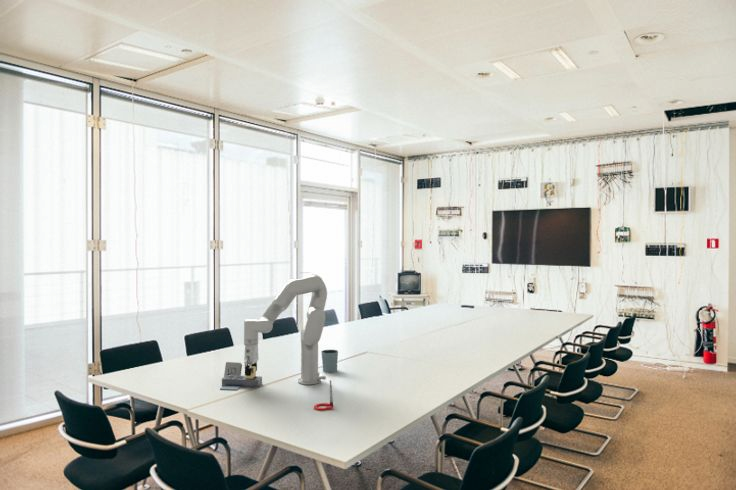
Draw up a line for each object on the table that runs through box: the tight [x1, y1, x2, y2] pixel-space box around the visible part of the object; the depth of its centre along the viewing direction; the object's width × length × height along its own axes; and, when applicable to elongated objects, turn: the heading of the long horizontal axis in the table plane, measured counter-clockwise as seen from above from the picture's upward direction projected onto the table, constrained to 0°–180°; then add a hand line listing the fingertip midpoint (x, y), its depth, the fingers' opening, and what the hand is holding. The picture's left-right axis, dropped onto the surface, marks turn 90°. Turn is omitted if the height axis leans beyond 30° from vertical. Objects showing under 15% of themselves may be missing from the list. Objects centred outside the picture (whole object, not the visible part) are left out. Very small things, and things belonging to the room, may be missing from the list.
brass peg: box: [246, 366, 257, 380], centre depth 267 cm, size 4×4×10 cm
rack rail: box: [221, 375, 263, 389], centre depth 268 cm, size 20×7×4 cm, turn 84°
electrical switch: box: [223, 361, 243, 378], centre depth 282 cm, size 9×5×9 cm, turn 78°
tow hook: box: [313, 380, 334, 411], centre depth 232 cm, size 8×13×9 cm
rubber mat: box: [220, 386, 241, 391], centre depth 261 cm, size 9×5×1 cm, turn 84°
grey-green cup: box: [321, 349, 339, 374], centre depth 298 cm, size 10×10×12 cm
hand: (250, 373), depth 267 cm, fingers open, 9 cm apart
